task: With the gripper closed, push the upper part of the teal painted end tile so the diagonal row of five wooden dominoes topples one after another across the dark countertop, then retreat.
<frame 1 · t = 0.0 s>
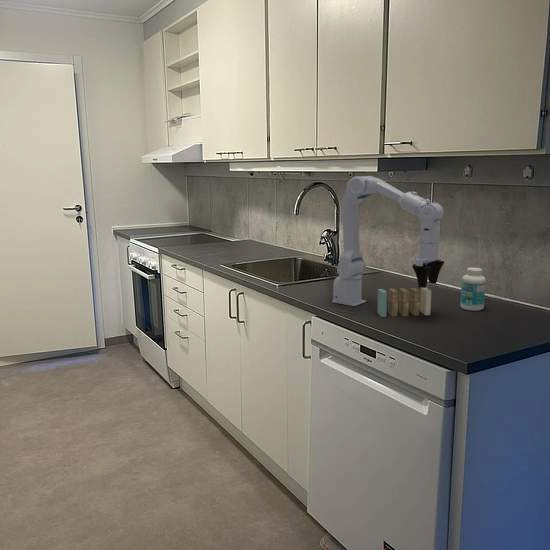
hand: (427, 285, 167), 10 cm above the worktop, fingers open, 7 cm apart
domino 1: (381, 314, 171), on the worktop
domino 4: (414, 313, 172), on the worktop
pill bottle: (471, 309, 178), on the worktop
domino 3: (403, 313, 172), on the worktop
domino 2: (392, 314, 172), on the worktop
domino 5: (425, 313, 173), on the worktop
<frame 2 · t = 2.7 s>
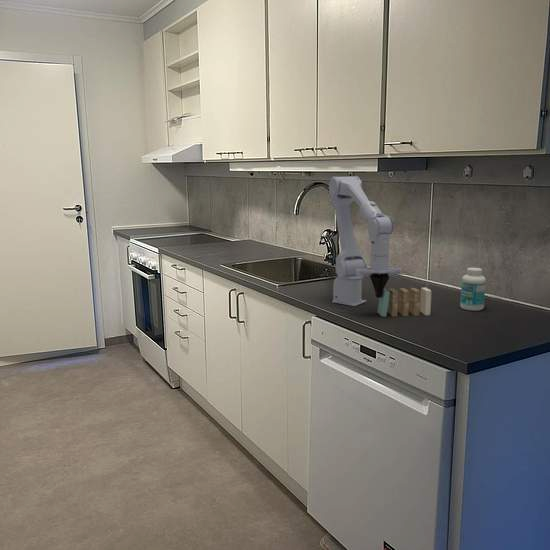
hand: (378, 297, 170), 6 cm above the worktop, fingers closed
domino 1: (381, 314, 171), on the worktop, tilted 6°
everything else where it was.
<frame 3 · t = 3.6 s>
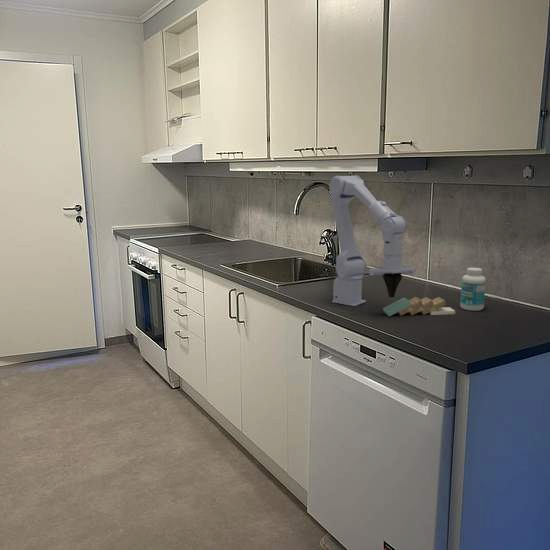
hand: (391, 296, 170), 6 cm above the worktop, fingers closed
domino 1: (385, 312, 171), point 1 cm above the worktop, tilted 65°, touching domino 2
domino 4: (420, 310, 172), point 1 cm above the worktop, tilted 68°
domino 3: (408, 311, 172), point 1 cm above the worktop, tilted 66°, touching domino 2
domino 2: (397, 311, 172), point 1 cm above the worktop, tilted 65°, touching domino 1, domino 3
domino 5: (428, 312, 173), on the worktop, tilted 90°
everything else where it was.
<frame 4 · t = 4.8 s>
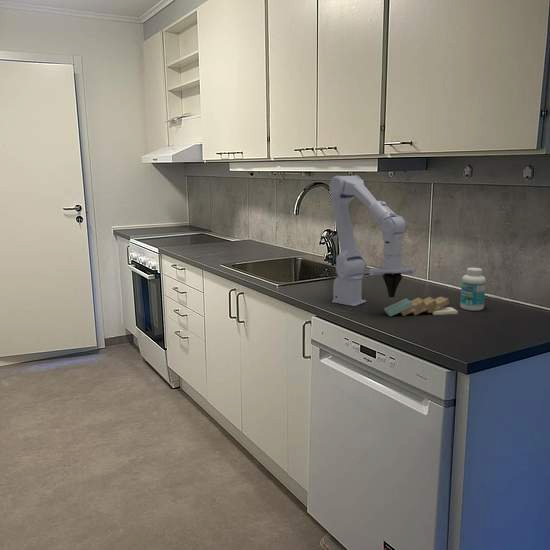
hand: (391, 296, 170), 6 cm above the worktop, fingers closed
domino 4: (424, 309, 173), point 1 cm above the worktop, tilted 71°, touching domino 3, domino 5
domino 3: (411, 311, 172), point 1 cm above the worktop, tilted 65°, touching domino 2, domino 4
domino 5: (430, 312, 173), on the worktop, tilted 90°, touching domino 4
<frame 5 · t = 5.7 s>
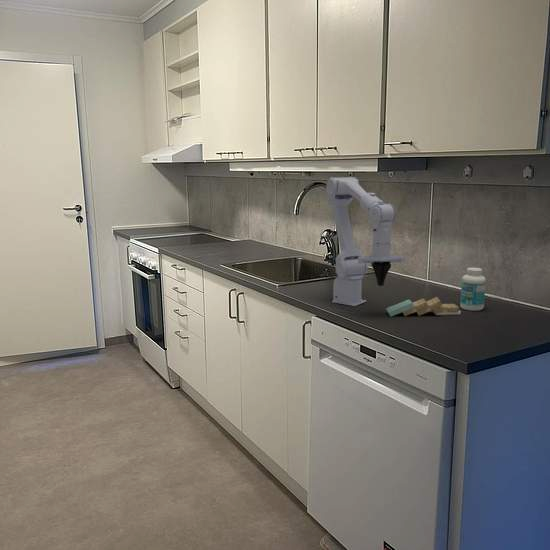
hand: (380, 285, 169), 10 cm above the worktop, fingers closed
domino 4: (431, 308, 171), point 2 cm above the worktop, tilted 89°, touching domino 3, domino 5
domino 3: (416, 311, 171), point 1 cm above the worktop, tilted 63°, touching domino 2, domino 4
domino 2: (402, 311, 171), point 1 cm above the worktop, tilted 66°, touching domino 1, domino 3
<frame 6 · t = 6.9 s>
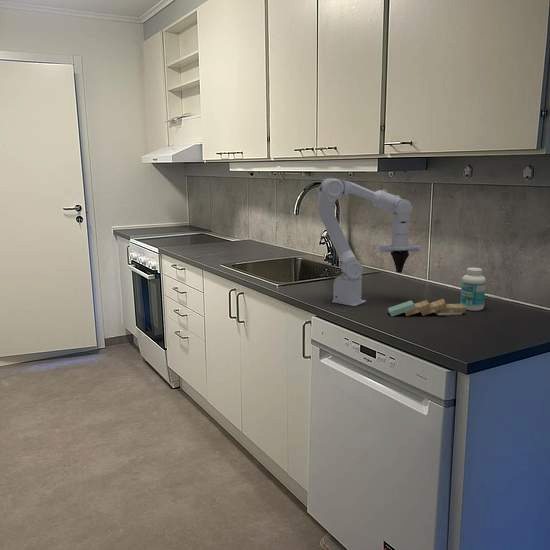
hand: (398, 272, 186), 10 cm above the worktop, fingers closed
domino 4: (438, 308, 172), point 2 cm above the worktop, tilted 89°, touching domino 3, domino 5
domino 3: (421, 311, 171), point 1 cm above the worktop, tilted 67°, touching domino 4
domino 2: (404, 312, 171), point 1 cm above the worktop, tilted 70°, touching domino 1
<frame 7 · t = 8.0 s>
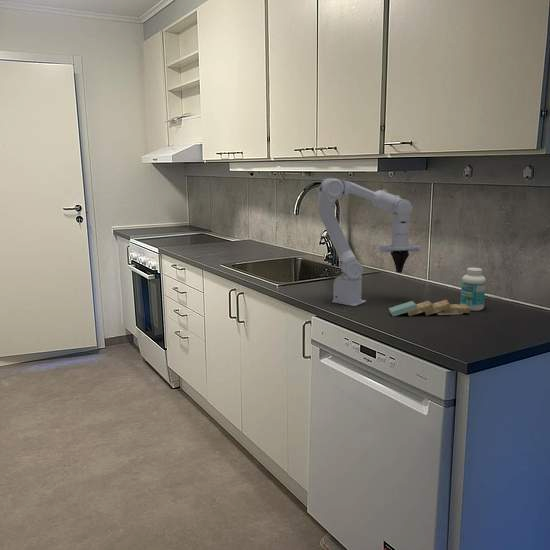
hand: (398, 272, 186), 10 cm above the worktop, fingers closed
domino 1: (390, 312, 171), point 1 cm above the worktop, tilted 72°
domino 4: (442, 308, 172), point 1 cm above the worktop, tilted 89°, touching domino 3, domino 5
domino 3: (424, 311, 172), point 1 cm above the worktop, tilted 70°, touching domino 2, domino 4
domino 2: (406, 312, 171), point 1 cm above the worktop, tilted 72°, touching domino 3
at the end: domino 5 tilted 90°; domino 1 tilted 72° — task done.
